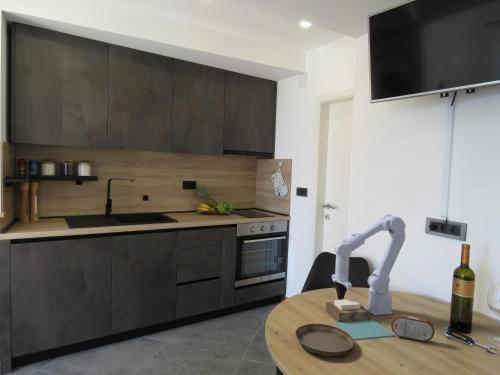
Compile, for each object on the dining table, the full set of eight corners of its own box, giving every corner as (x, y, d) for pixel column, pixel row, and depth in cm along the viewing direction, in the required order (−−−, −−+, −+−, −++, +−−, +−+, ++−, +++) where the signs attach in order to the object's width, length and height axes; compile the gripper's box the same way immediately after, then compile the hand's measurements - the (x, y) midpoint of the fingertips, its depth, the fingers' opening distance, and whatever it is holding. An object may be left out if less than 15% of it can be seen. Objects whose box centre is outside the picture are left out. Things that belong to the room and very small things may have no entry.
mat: (373, 320, 142) (373, 319, 142) (394, 336, 129) (394, 335, 129) (334, 323, 138) (334, 322, 138) (352, 340, 125) (352, 339, 125)
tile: (352, 303, 150) (353, 298, 150) (360, 308, 144) (360, 304, 144) (334, 304, 148) (334, 300, 148) (341, 310, 142) (341, 305, 142)
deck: (353, 309, 154) (354, 300, 154) (368, 320, 142) (369, 311, 142) (325, 311, 151) (326, 302, 150) (338, 322, 139) (339, 313, 139)
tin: (432, 340, 126) (434, 319, 126) (434, 344, 123) (436, 322, 123) (389, 332, 131) (391, 311, 131) (390, 335, 128) (392, 314, 128)
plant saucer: (345, 332, 131) (345, 324, 131) (361, 362, 111) (361, 352, 110) (292, 330, 132) (292, 321, 132) (298, 359, 111) (298, 349, 111)
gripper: (326, 265, 157) (325, 293, 158) (341, 274, 143) (340, 306, 144) (340, 264, 159) (339, 293, 160) (356, 274, 145) (355, 305, 146)
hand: (340, 299), depth 152 cm, fingers closed
